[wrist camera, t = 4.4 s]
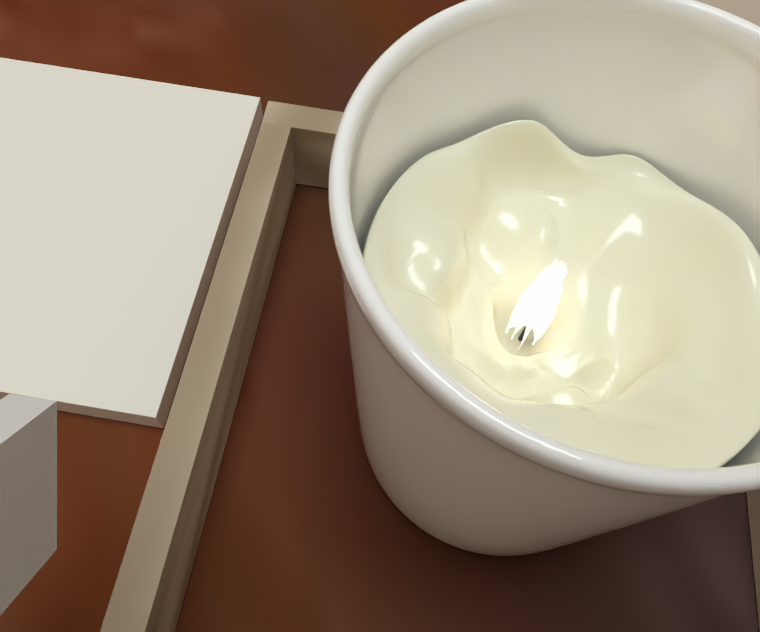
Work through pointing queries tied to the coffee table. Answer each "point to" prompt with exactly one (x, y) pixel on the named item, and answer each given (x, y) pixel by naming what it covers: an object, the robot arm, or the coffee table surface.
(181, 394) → the birch frame
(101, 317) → the coaster
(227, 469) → the coffee table surface
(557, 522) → the candle holder
